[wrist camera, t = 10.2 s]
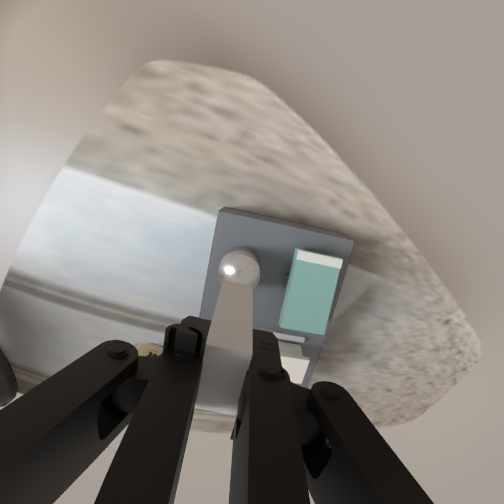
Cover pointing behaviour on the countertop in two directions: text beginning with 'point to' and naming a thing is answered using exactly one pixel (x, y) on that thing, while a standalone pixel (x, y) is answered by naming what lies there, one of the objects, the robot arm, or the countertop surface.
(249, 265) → the plunger
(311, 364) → the console
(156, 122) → the countertop surface
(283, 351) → the slider
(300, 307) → the block
